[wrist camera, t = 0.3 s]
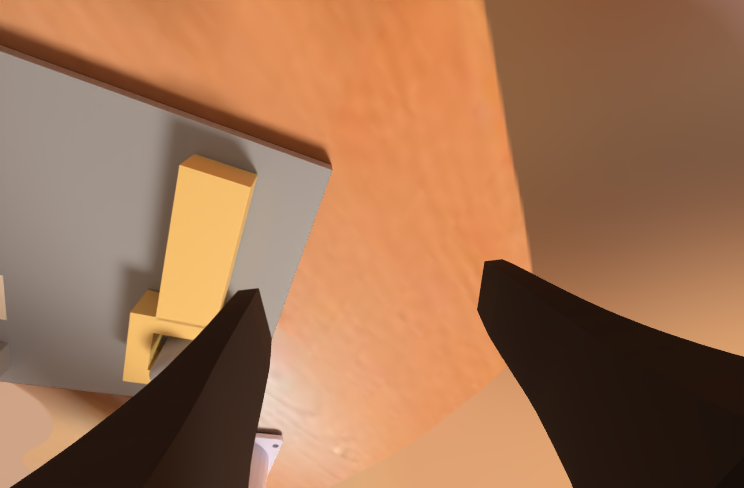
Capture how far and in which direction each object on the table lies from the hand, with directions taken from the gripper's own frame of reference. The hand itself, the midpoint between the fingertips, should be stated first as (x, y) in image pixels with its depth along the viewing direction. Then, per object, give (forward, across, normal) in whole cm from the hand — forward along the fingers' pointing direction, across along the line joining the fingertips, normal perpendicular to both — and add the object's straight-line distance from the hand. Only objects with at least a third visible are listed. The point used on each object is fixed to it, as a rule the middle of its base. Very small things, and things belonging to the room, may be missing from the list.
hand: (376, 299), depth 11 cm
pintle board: (+10, +13, +4) cm, 17 cm away
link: (+9, +9, +4) cm, 13 cm away
